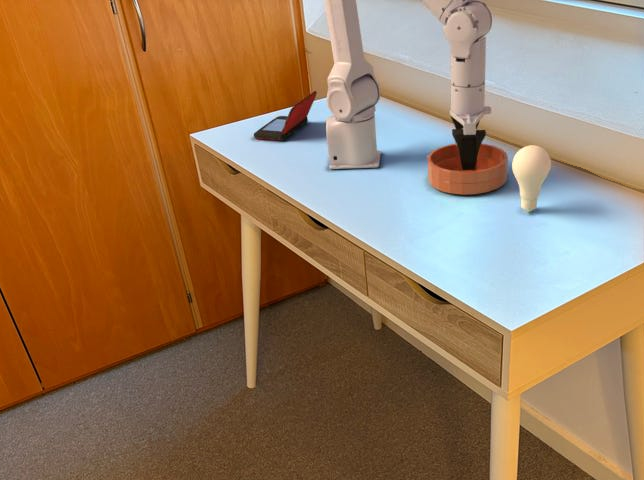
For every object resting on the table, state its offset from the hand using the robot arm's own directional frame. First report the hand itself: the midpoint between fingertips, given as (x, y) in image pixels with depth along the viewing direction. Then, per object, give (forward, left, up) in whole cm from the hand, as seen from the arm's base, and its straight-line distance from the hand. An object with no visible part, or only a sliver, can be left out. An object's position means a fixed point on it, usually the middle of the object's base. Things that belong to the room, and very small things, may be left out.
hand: (467, 161), depth 129 cm
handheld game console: (-37, +30, -4) cm, 49 cm away
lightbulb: (+10, -14, -4) cm, 17 cm away
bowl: (0, 0, -4) cm, 4 cm away
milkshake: (0, 0, -3) cm, 3 cm away
